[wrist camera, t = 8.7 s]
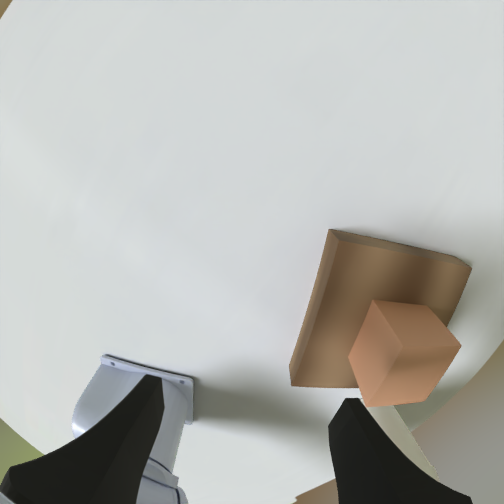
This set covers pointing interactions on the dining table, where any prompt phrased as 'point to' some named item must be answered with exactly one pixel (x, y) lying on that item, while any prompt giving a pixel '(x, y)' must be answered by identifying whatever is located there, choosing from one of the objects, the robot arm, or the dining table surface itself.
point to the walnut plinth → (366, 299)
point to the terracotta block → (400, 353)
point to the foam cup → (401, 436)
